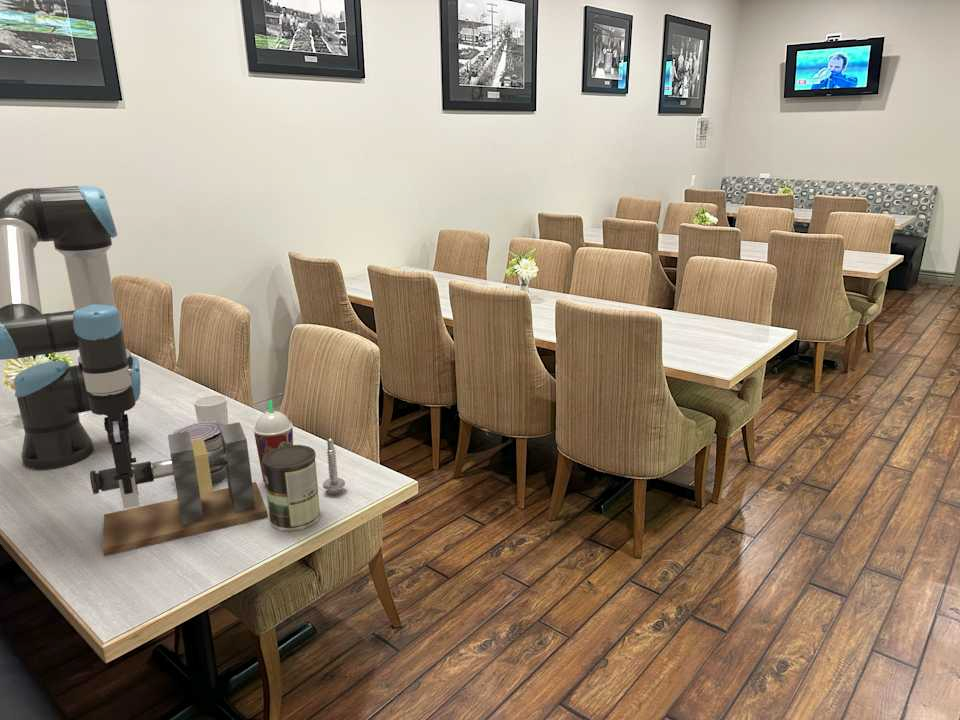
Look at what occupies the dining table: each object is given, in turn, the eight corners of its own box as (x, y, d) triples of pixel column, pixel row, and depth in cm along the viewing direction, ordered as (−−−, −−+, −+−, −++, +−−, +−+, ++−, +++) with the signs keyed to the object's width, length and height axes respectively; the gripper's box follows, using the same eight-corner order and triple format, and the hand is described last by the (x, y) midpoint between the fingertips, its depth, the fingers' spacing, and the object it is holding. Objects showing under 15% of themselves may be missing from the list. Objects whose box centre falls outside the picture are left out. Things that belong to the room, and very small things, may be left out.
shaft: (93, 498, 129) (89, 477, 128) (94, 488, 133) (90, 467, 131) (247, 466, 141) (244, 447, 139) (244, 458, 145) (241, 439, 143)
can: (225, 487, 153) (218, 437, 150) (171, 491, 152) (163, 442, 148) (234, 464, 164) (227, 418, 160) (184, 468, 162) (176, 421, 159)
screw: (343, 497, 148) (321, 497, 148) (347, 486, 153) (325, 486, 153) (339, 442, 144) (316, 442, 144) (343, 433, 149) (321, 433, 149)
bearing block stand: (103, 555, 128) (86, 474, 123) (105, 520, 140) (89, 445, 135) (267, 516, 141) (258, 441, 135) (256, 487, 153) (247, 417, 147)
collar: (199, 494, 136) (193, 456, 133) (196, 477, 143) (190, 440, 141) (213, 492, 137) (207, 453, 134) (208, 474, 144) (203, 438, 142)
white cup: (236, 430, 184) (231, 395, 181) (222, 442, 176) (217, 406, 173) (208, 429, 185) (203, 394, 181) (193, 441, 177) (188, 405, 174)
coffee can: (264, 533, 135) (256, 468, 131) (275, 506, 145) (267, 445, 140) (317, 530, 136) (311, 465, 131) (324, 504, 145) (318, 443, 141)
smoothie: (305, 477, 157) (297, 395, 151) (284, 494, 150) (274, 409, 144) (274, 472, 160) (265, 392, 154) (252, 488, 152) (241, 405, 146)
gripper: (133, 400, 122) (154, 516, 129) (131, 373, 136) (150, 478, 143) (85, 407, 118) (109, 526, 126) (89, 379, 133) (110, 486, 140)
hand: (131, 500), depth 134 cm, fingers closed on shaft, 4 cm apart
